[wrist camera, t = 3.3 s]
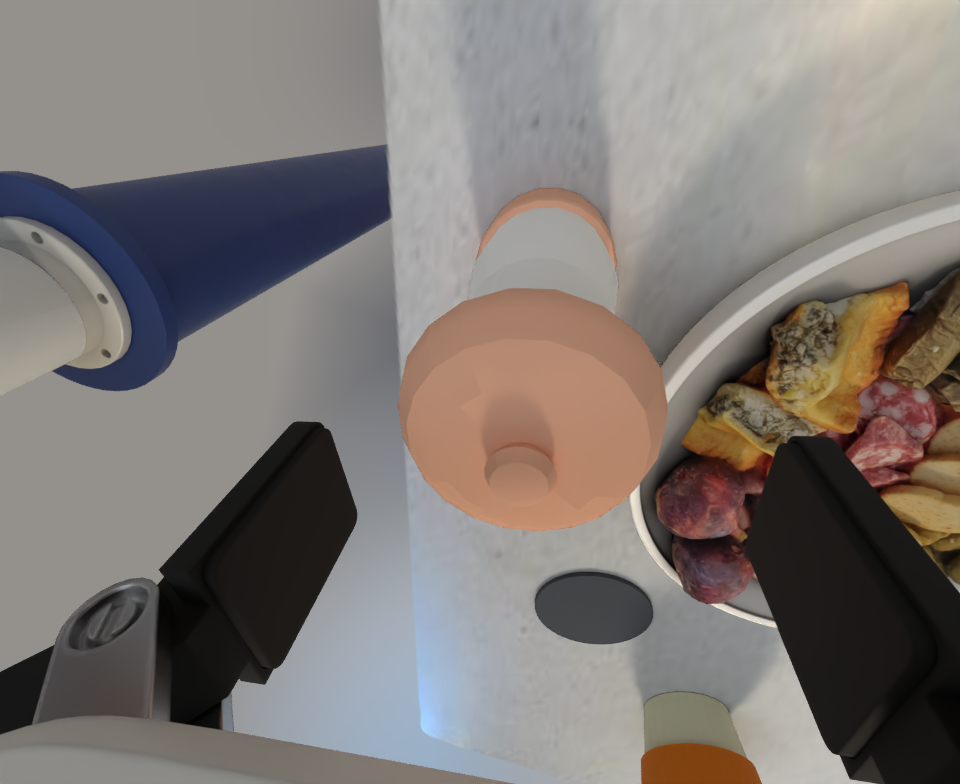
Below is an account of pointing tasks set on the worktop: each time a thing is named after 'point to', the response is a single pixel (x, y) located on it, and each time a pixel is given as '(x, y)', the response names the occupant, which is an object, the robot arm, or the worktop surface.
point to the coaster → (593, 608)
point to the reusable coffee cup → (692, 743)
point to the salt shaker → (535, 377)
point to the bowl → (815, 397)
